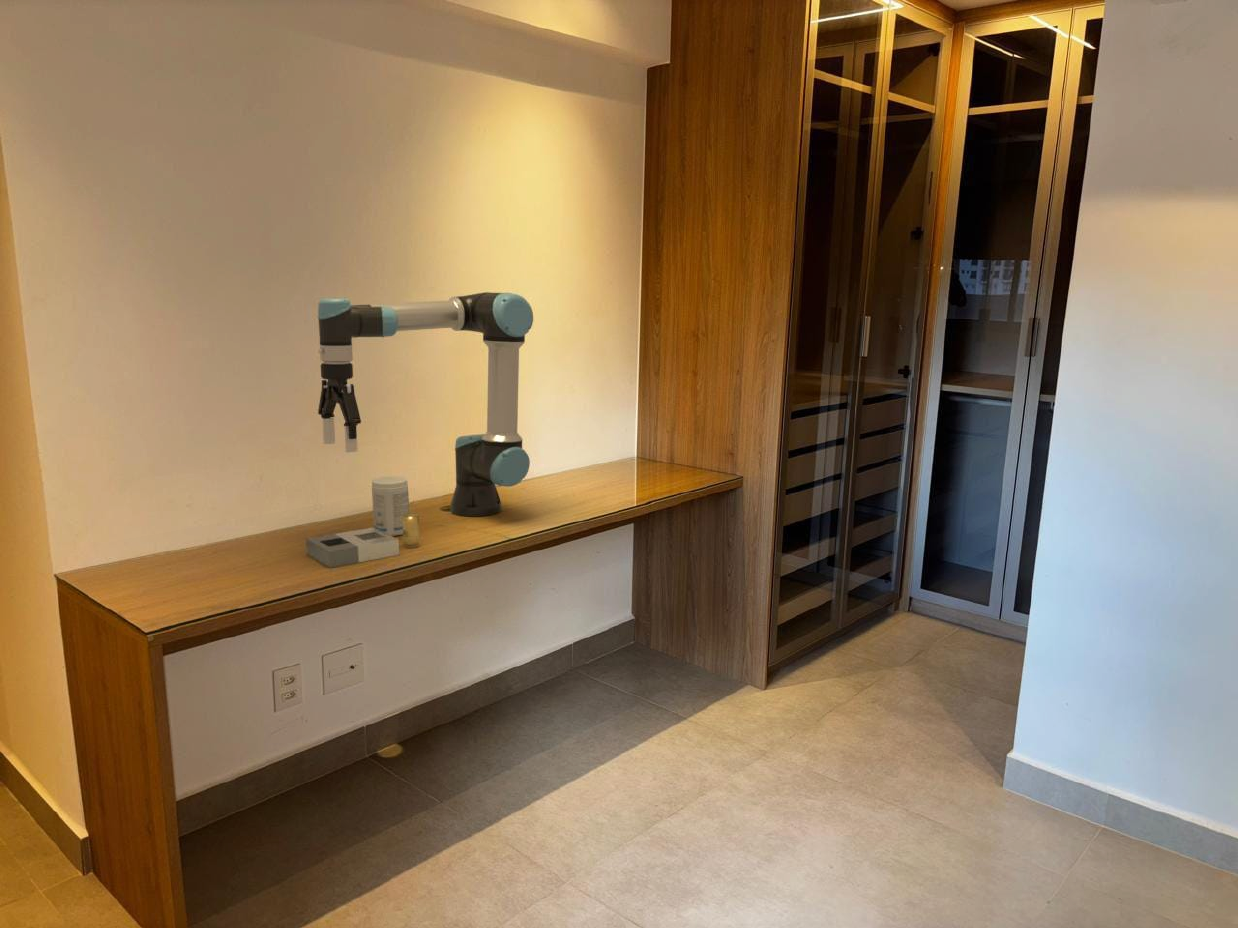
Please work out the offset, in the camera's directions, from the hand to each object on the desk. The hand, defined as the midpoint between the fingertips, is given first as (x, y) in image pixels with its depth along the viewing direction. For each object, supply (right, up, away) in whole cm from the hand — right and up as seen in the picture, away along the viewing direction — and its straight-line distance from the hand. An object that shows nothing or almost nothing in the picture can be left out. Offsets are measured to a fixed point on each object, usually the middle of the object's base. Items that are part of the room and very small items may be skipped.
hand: (340, 447), depth 223 cm
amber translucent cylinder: (+16, -25, +9) cm, 31 cm away
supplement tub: (+8, -23, +21) cm, 32 cm away
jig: (+3, -27, +1) cm, 27 cm away
